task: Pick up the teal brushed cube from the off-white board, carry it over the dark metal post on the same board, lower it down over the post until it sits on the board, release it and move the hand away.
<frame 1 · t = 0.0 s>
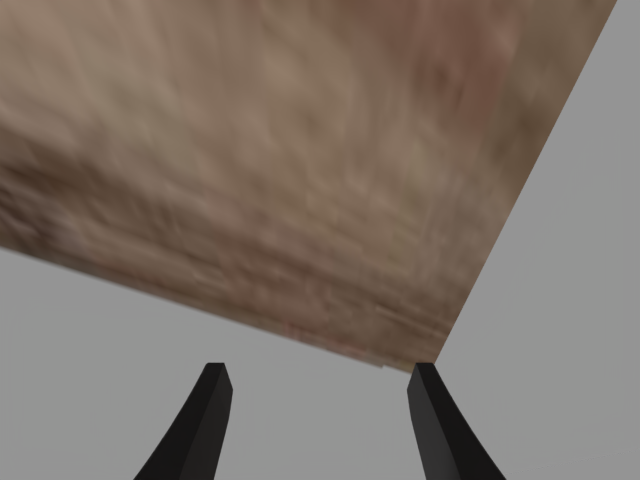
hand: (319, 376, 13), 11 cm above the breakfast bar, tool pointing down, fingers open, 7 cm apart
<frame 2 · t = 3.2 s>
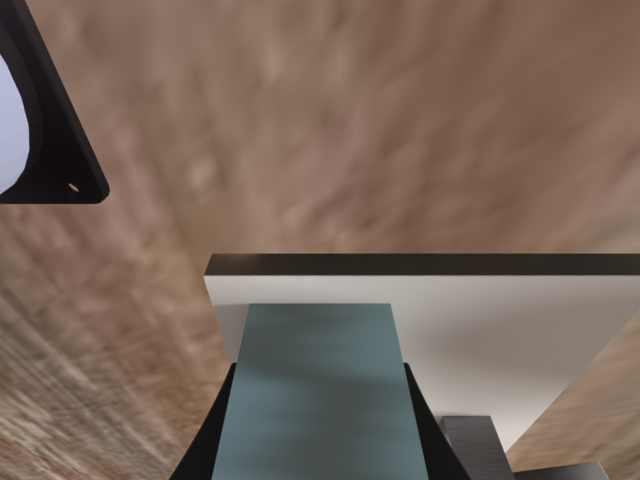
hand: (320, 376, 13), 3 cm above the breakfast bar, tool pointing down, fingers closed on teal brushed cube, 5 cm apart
metal post: (453, 404, 20), resting on base board
teal brushed cube: (320, 344, 14), point 1 cm above the breakfast bar, touching base board, gripper
base board: (396, 368, 17), on the breakfast bar
milk carton: (546, 475, 28), on the breakfast bar
when the fingers open (4 cm above the breakfast bar, at t = 7.7 s): teal brushed cube stays where it is, resting on base board.
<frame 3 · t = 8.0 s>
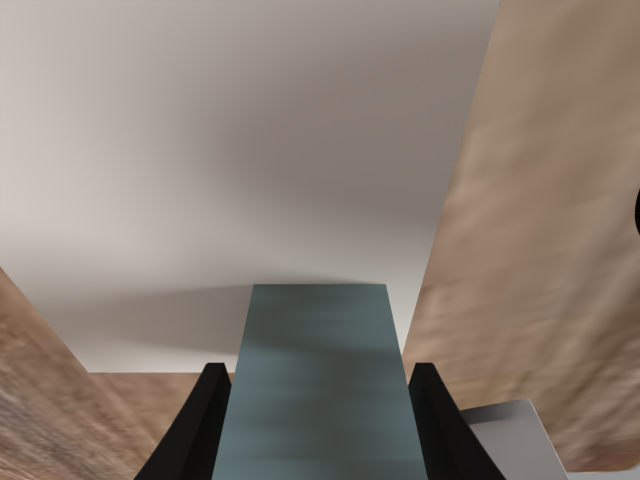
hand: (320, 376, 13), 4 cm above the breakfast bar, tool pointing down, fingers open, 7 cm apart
teal brushed cube: (319, 325, 15), point 1 cm above the breakfast bar, touching base board
base board: (218, 236, 13), on the breakfast bar
milk carton: (476, 422, 24), on the breakfast bar
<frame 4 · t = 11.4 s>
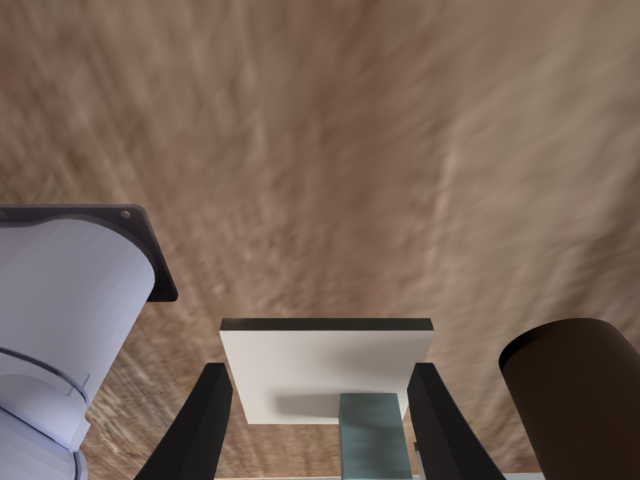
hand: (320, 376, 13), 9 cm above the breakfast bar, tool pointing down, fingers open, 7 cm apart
teal brushed cube: (366, 406, 32), point 1 cm above the breakfast bar, touching base board
base board: (325, 372, 30), on the breakfast bar
olive oil: (552, 349, 28), on the breakfast bar
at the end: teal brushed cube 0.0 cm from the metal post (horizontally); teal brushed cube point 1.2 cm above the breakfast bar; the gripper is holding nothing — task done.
